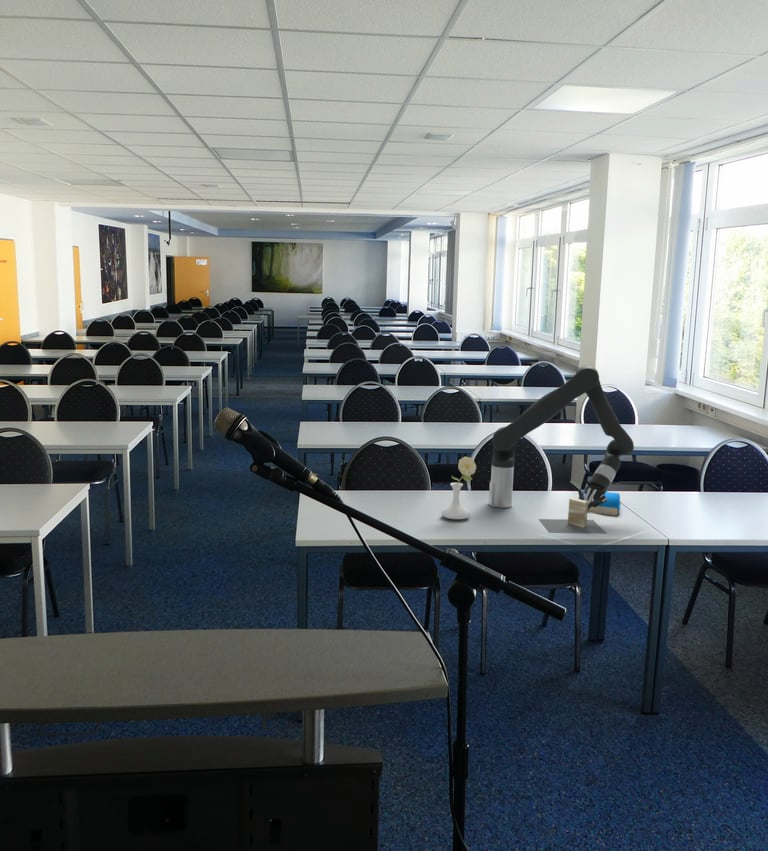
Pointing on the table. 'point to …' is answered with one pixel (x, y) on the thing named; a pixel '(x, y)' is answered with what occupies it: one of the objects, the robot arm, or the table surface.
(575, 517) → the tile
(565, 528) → the mat
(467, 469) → the flower in vase
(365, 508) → the table surface
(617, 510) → the book
